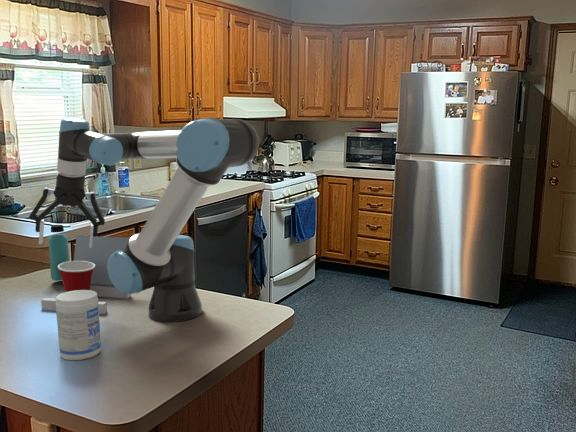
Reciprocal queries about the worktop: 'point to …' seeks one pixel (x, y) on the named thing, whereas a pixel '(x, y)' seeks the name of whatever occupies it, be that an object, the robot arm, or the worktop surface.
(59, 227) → the beverage bottle
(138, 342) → the worktop surface
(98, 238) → the door
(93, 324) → the supplement tub
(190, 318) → the robot arm
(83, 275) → the plastic cup
